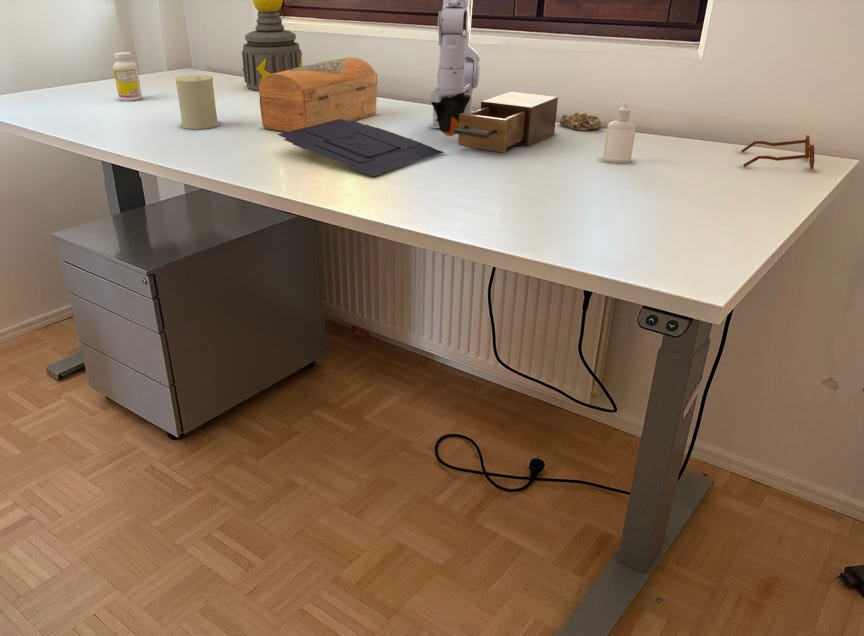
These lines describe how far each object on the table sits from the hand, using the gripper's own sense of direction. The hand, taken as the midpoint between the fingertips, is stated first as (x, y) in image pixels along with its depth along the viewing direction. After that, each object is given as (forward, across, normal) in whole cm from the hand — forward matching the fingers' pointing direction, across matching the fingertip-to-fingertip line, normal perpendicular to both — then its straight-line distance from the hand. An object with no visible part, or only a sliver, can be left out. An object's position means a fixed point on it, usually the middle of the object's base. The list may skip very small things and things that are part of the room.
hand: (449, 129), depth 172 cm
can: (+3, +21, -62) cm, 65 cm away
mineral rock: (+3, -31, +19) cm, 37 cm away
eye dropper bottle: (+3, -5, +38) cm, 39 cm away
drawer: (+2, +1, +11) cm, 11 cm away
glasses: (+3, -22, +66) cm, 70 cm away
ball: (-1, 0, 0) cm, 1 cm away
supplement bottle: (+3, +8, -106) cm, 106 cm away
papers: (+3, +22, -10) cm, 24 cm away
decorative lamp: (+3, -31, -84) cm, 89 cm away
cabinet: (+3, -13, +11) cm, 17 cm away
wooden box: (+3, 0, -39) cm, 39 cm away
